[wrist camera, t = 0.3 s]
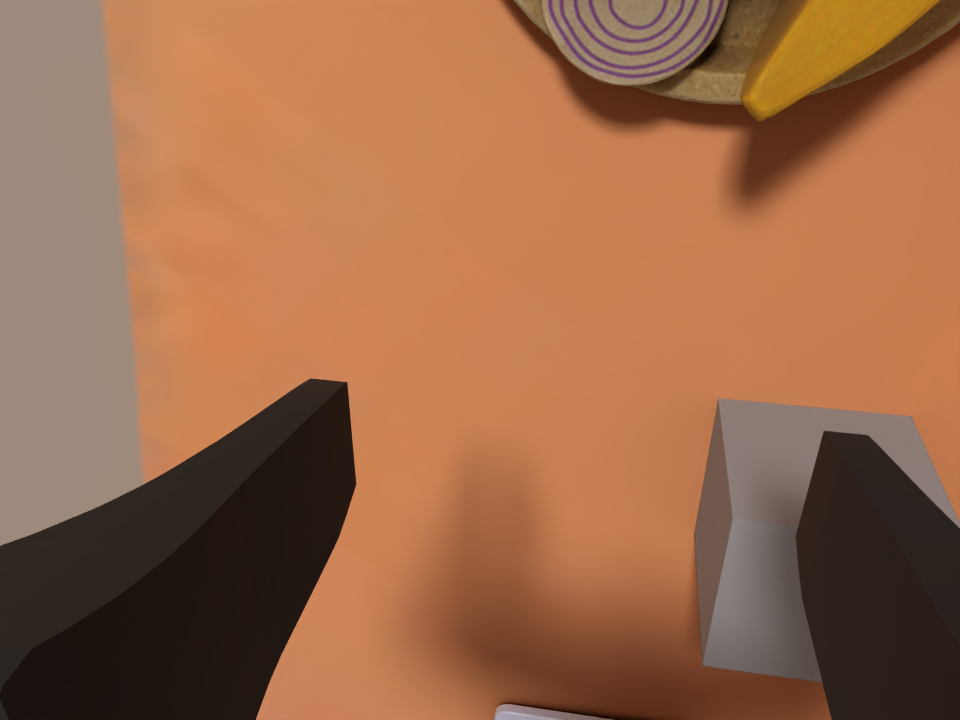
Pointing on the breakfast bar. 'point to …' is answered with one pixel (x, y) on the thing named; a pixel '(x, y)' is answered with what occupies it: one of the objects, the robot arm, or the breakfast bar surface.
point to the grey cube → (774, 527)
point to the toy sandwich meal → (739, 44)
